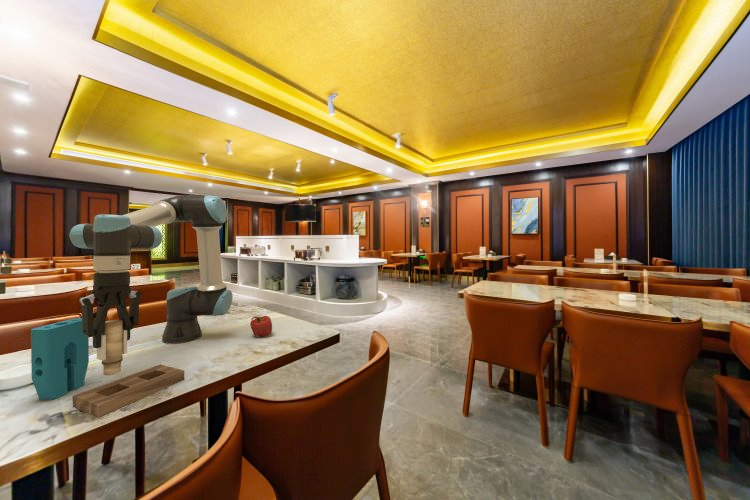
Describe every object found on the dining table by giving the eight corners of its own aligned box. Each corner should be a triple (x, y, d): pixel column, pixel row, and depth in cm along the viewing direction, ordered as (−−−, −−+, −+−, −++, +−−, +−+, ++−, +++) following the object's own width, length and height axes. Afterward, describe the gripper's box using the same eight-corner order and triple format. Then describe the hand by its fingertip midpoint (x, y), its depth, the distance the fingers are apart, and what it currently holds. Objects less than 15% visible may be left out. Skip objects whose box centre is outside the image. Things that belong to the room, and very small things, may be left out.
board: (72, 406, 78) (72, 395, 78) (160, 373, 98) (160, 364, 98) (98, 417, 73) (98, 405, 73) (184, 379, 94) (184, 370, 93)
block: (74, 381, 91) (74, 318, 91) (90, 382, 91) (90, 318, 91) (29, 402, 79) (28, 329, 79) (48, 403, 79) (47, 329, 79)
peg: (98, 374, 79) (98, 322, 79) (117, 368, 83) (117, 319, 83) (107, 377, 78) (107, 324, 77) (126, 370, 82) (126, 320, 81)
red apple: (257, 341, 131) (258, 319, 130) (243, 337, 136) (243, 315, 136) (277, 335, 140) (277, 314, 140) (263, 331, 145) (263, 311, 145)
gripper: (78, 274, 71) (78, 370, 71) (154, 269, 87) (154, 347, 87) (62, 273, 74) (62, 365, 74) (139, 268, 90) (138, 344, 90)
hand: (112, 355), depth 80 cm, fingers closed on peg, 4 cm apart
